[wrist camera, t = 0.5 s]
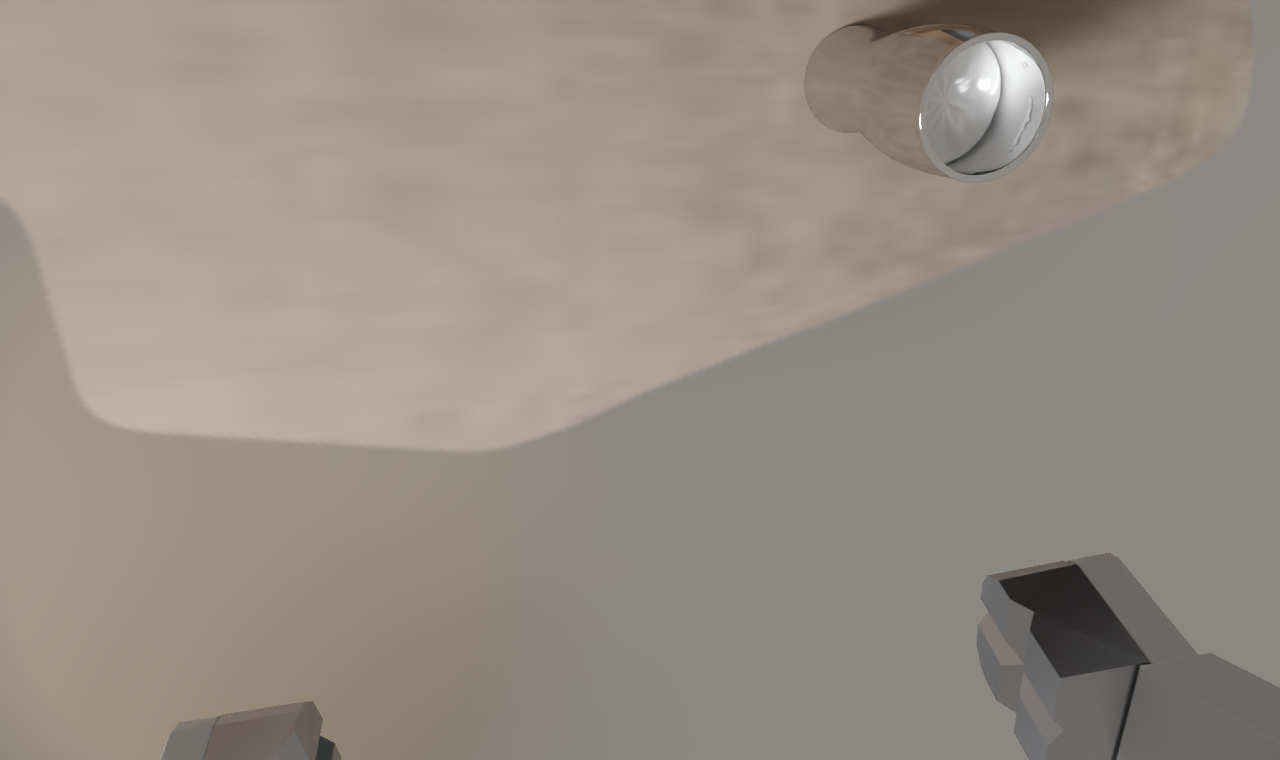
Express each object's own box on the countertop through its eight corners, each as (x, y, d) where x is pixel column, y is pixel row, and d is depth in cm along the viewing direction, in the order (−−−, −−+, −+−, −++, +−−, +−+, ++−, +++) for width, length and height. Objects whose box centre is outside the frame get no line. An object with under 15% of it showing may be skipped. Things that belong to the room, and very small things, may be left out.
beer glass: (773, 98, 55) (885, 135, 41) (843, -9, 53) (983, -7, 39) (859, 161, 57) (991, 215, 44) (928, 61, 56) (1087, 85, 42)
